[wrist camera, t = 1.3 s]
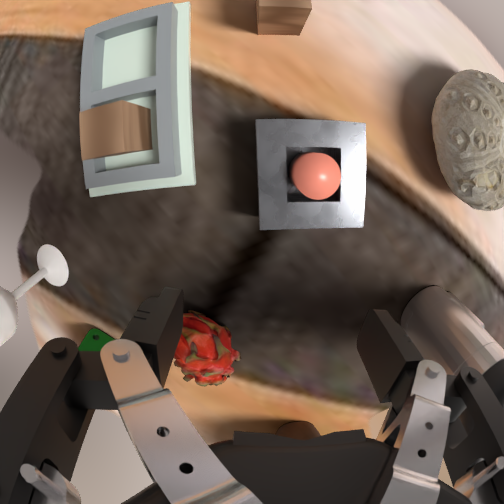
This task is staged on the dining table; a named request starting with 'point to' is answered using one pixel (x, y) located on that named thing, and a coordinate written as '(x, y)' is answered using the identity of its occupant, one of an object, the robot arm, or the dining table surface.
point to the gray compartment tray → (142, 95)
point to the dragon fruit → (204, 350)
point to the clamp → (92, 344)
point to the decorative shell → (471, 138)
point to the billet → (115, 130)
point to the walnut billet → (282, 16)
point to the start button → (315, 175)
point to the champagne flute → (50, 267)
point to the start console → (287, 195)
